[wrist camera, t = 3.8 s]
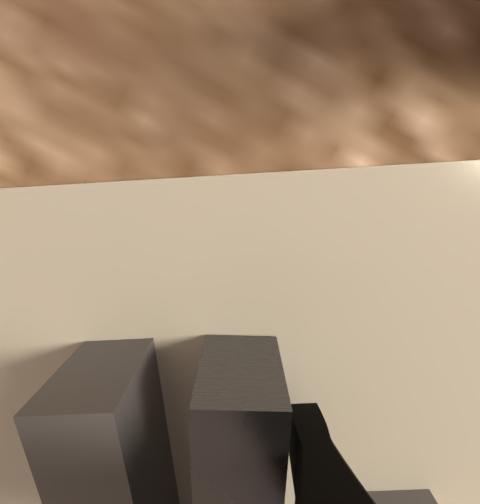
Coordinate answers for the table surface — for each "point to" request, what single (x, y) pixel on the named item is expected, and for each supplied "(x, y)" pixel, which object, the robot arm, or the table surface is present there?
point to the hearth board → (240, 324)
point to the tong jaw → (239, 422)
